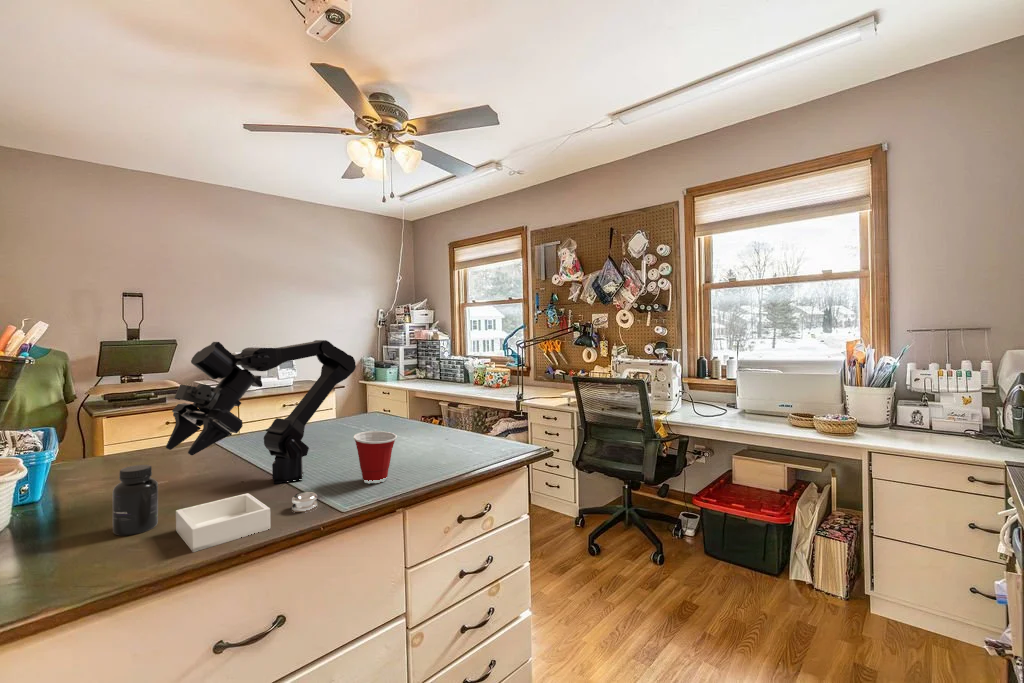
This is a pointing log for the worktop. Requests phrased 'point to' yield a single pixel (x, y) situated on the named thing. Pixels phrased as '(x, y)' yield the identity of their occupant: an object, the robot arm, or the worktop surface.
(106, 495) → the worktop surface
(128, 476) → the supplement bottle
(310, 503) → the grooved metal pulley
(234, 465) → the worktop surface
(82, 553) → the worktop surface
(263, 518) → the bin
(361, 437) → the plastic cup
